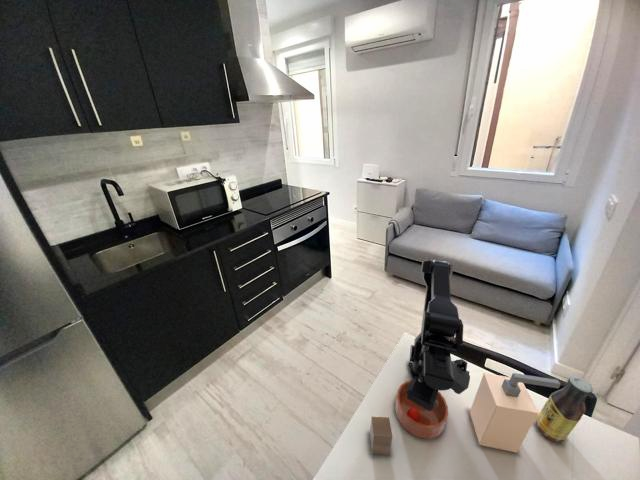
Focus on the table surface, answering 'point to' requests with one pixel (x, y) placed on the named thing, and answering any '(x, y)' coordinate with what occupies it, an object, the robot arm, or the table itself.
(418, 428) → the bowl
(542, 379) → the soap dispenser
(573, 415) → the sauce bottle
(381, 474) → the table surface
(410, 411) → the tomato
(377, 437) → the wooden stand
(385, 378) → the table surface
